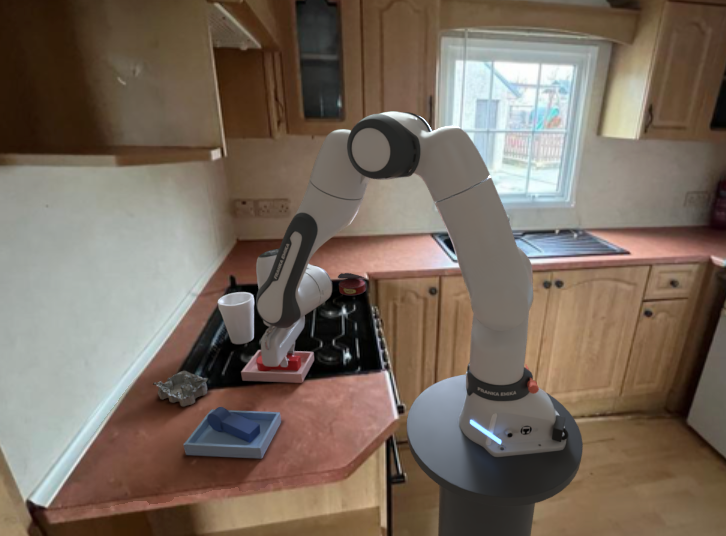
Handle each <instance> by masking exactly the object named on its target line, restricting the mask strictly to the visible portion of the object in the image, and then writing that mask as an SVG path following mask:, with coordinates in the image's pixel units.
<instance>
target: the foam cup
mask: <svg viewBox="0 0 726 536" xmlns="http://www.w3.org/2000/svg"><path fill="white" fill-rule="evenodd" d="M217 307H218V310H219V312H220V314H221V317H222V320H223V323H224V326H225V328H226V331H227V334H228V337H229V340H230V343H232V344H234V345H244V344H247V343H249V342H251V341H253V340H254V338H255V297H254V294H253V293H251V292H246V291H238V292H231V293H228V294H225V295H223V296H221V297H220V298H218V300H217Z"/></svg>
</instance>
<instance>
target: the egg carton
mask: <svg viewBox="0 0 726 536" xmlns="http://www.w3.org/2000/svg"><path fill="white" fill-rule="evenodd" d="M208 380H209V378H208V377H203V376H199V374H194V373H191V372H189V371H187V370H182V371H179V372H178V373H176V374H173V376H171V377H167V380H166V381H165V382H164V383H163V382H162V380H161V381H158V382H153V383H152V385H155V386H156V387H158V390H157V395H158V398H159V399H160V400H164V399H165V400H166V399H168V400H169V402H170V403H172V404H175V403H177V402H179V405H180V407H183V408H184V407H186V406H189V405H193V404H194V403H196V399H197V398H198V397H201V396H205V395H207V394H208V385H207V381H208Z"/></svg>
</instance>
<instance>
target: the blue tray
mask: <svg viewBox="0 0 726 536" xmlns="http://www.w3.org/2000/svg"><path fill="white" fill-rule="evenodd" d="M214 410H215V409H213V408H212V409H210V410H209V412H207V414H206V415H205V417H204V418H203V419H202V421H200V423H199V424H198V425H197V427H196V428H195V429H194V431H193V432H192V433H191V435H189V437H188V438H187V439H186V441H184V443H183V448H184V453H185V455H186V456H197V457H198V456H199V457H221V458H239V459H240V458H241V459H242V458H243V459H261V460H262V459H263V458H264V455H265V454H266V452H267V450H268V448H269V446H270V444H271V442H272V441H273V438H274V437H275V435H276V433H277V431H278V430H279V427H280V425H281V424H282V416H281V415H282V414H281V412H280V411H259V410H257V411H255V410H235V409H234V410H233V409H227V410H228V411H229V412H233V413H235V414H238V415H240V416H242V417H244V418H247V419H249V420H251V421H253V422H256V423H258V424H260V434H259V435H258V436H257V437H256V438H255V439H254V440H252V441H251V442H250V443H249V442H246V441H244V440H242V439H240V438H238V437H236V436H234V435H231V434H229V433H227V432H225V431H221V432H218V431H216V430H214V429H213V428H212V427H211V426H210V425H209V423H208V420H207V417H208V415H209V414H210V413H211V412H213V411H214Z"/></svg>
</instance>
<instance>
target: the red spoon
mask: <svg viewBox="0 0 726 536" xmlns="http://www.w3.org/2000/svg"><path fill="white" fill-rule="evenodd" d="M286 357H287V358H289V364H288V366H287V367H281V365H279V366H277V367H269V366H265V365H264V364H263V362H262V356H260V357H258V358H257V360H256V362H257V368H258V370H259V371H270V370H293V371H298V370H299V368H300V367H301V359H300V356H296V355H286Z"/></svg>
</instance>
